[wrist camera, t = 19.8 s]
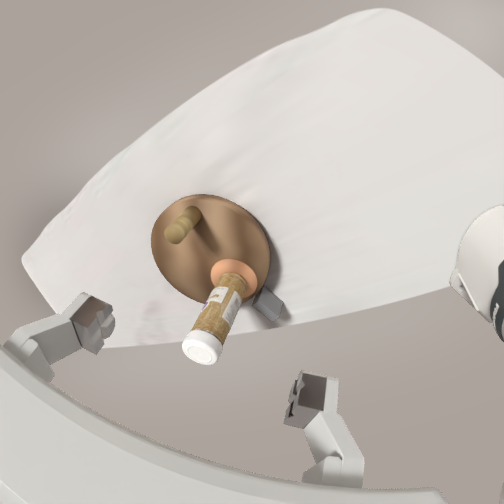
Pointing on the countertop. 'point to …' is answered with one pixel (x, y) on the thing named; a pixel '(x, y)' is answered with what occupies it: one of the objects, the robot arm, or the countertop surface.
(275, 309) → the grey polygonal block
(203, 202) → the wooden peg stand
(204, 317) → the sprinkles bottle
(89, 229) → the countertop surface
